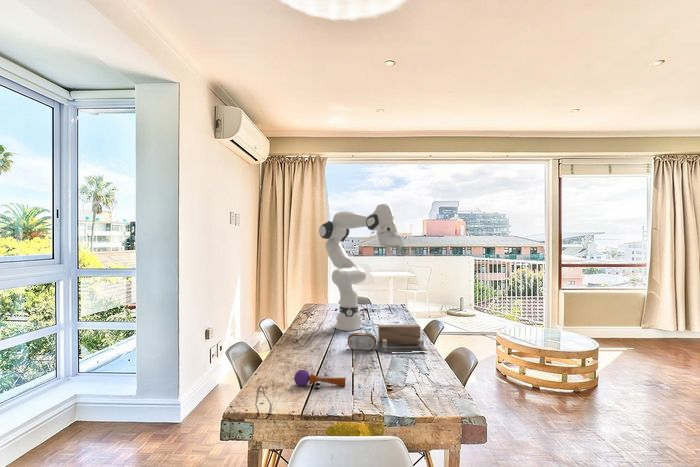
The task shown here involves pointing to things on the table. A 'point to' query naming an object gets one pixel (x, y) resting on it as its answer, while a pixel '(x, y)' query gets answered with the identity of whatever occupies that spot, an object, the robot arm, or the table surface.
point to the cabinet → (399, 338)
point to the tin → (362, 341)
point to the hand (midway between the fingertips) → (394, 254)
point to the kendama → (315, 379)
